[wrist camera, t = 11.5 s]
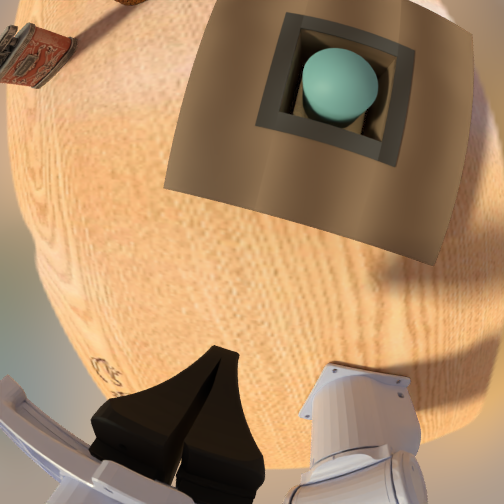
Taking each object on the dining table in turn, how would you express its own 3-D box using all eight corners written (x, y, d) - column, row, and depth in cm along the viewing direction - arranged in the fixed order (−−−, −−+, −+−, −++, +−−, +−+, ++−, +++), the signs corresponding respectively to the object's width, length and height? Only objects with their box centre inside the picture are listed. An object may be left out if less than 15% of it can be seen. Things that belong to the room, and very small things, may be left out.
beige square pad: (369, 86, 16) (370, 84, 15) (356, 145, 17) (358, 144, 17) (304, 67, 16) (305, 65, 16) (290, 126, 18) (290, 124, 17)
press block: (439, 59, 14) (472, 34, 8) (402, 241, 19) (434, 267, 13) (249, 4, 15) (232, -36, 9) (199, 183, 20) (162, 188, 15)
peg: (364, 86, 15) (382, 62, 11) (353, 137, 17) (371, 125, 12) (309, 70, 16) (310, 40, 11) (296, 120, 17) (295, 102, 12)
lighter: (36, 95, 20) (-28, 90, 11) (34, 76, 19) (-26, 68, 10) (79, 51, 18) (10, 30, 9) (76, 33, 17) (13, 11, 8)
